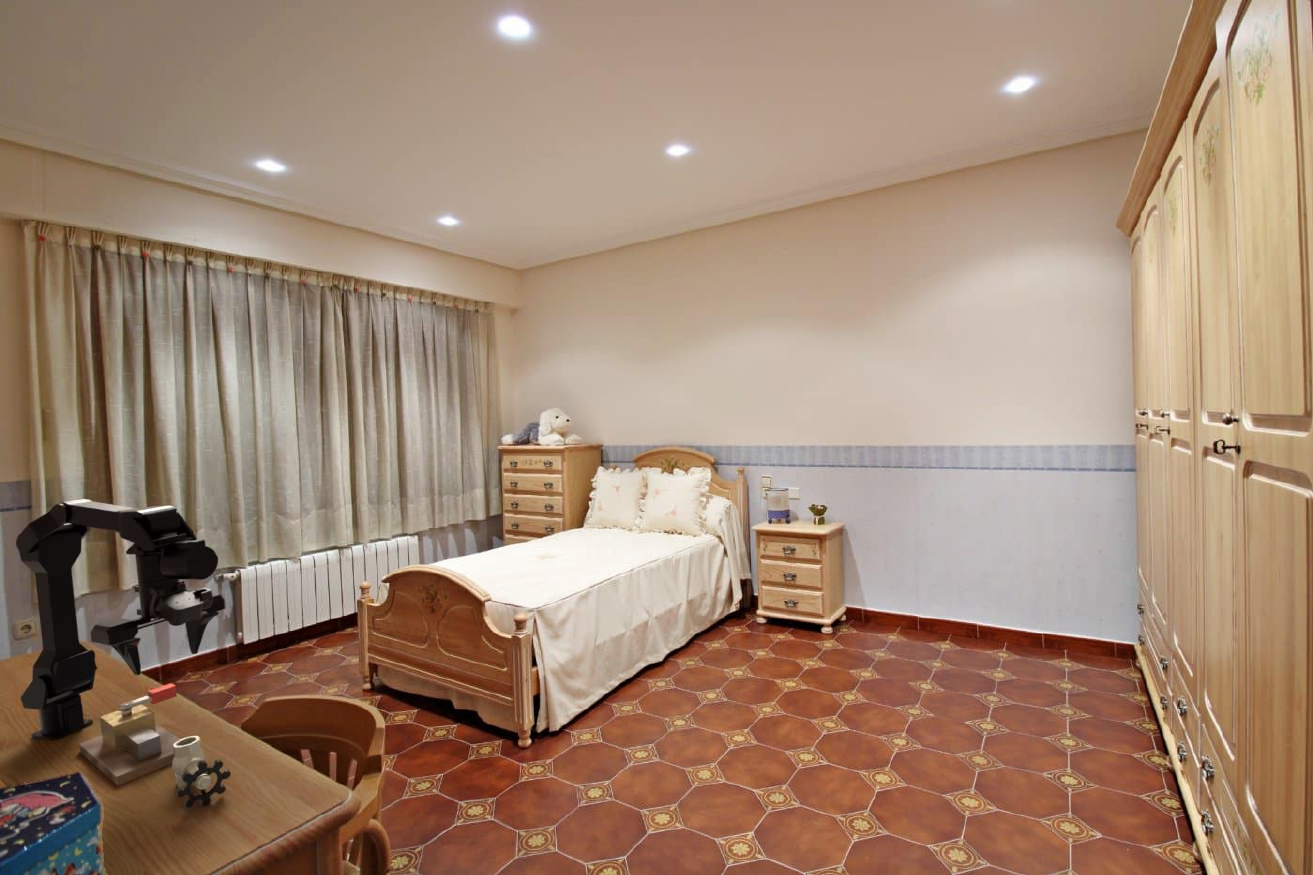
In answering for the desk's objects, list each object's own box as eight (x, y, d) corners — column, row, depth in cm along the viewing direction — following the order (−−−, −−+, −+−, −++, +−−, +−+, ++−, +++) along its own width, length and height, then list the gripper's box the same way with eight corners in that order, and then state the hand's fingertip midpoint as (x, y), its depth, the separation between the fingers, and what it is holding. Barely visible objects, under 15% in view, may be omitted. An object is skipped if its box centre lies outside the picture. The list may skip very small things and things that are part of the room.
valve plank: (79, 751, 111) (78, 743, 111) (149, 725, 119) (148, 718, 119) (117, 785, 99) (116, 776, 99) (191, 754, 108) (190, 746, 107)
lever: (121, 715, 108) (120, 704, 108) (117, 712, 110) (116, 701, 109) (176, 696, 115) (175, 685, 115) (172, 693, 116) (171, 683, 116)
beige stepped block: (98, 740, 111) (94, 707, 111) (137, 726, 116) (134, 694, 115) (129, 766, 102) (125, 730, 102) (171, 749, 107) (167, 715, 106)
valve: (161, 786, 99) (179, 817, 91) (157, 746, 98) (175, 773, 90) (211, 767, 103) (233, 794, 95) (207, 728, 103) (228, 752, 95)
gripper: (124, 597, 99) (134, 693, 100) (241, 566, 116) (248, 648, 117) (84, 592, 103) (94, 684, 104) (202, 563, 121) (210, 642, 122)
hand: (167, 663), depth 112 cm, fingers open, 9 cm apart
